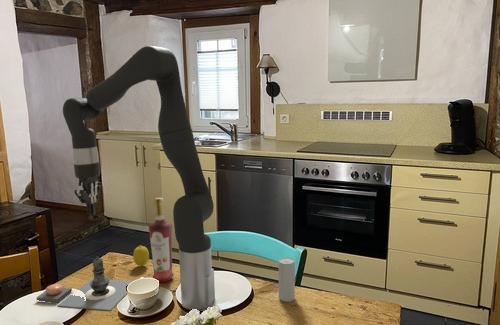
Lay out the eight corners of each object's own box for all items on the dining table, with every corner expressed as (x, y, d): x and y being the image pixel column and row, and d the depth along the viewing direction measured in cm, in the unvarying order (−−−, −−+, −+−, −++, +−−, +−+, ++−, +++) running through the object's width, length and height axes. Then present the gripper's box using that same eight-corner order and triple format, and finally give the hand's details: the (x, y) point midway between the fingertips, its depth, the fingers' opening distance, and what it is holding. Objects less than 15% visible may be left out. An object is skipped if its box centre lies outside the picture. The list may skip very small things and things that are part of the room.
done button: (65, 293, 124) (64, 284, 124) (56, 300, 120) (55, 291, 120) (53, 292, 125) (52, 283, 125) (43, 299, 121) (42, 290, 120)
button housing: (72, 292, 125) (71, 287, 125) (57, 303, 119) (57, 298, 118) (52, 290, 127) (51, 286, 126) (37, 301, 120) (36, 297, 120)
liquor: (177, 275, 136) (173, 195, 132) (170, 285, 129) (165, 201, 124) (157, 274, 137) (152, 195, 133) (148, 284, 130) (143, 201, 125)
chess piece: (104, 297, 121) (100, 260, 119) (86, 296, 122) (83, 259, 120) (114, 288, 126) (111, 252, 125) (97, 287, 128) (94, 252, 126)
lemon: (147, 269, 141) (146, 248, 140) (132, 269, 141) (130, 248, 140) (151, 263, 147) (150, 242, 145) (136, 263, 147) (135, 242, 145)
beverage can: (285, 293, 122) (285, 256, 120) (298, 298, 119) (298, 260, 117) (275, 298, 119) (275, 260, 117) (287, 304, 115) (287, 265, 114)
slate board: (138, 282, 131) (138, 281, 131) (110, 310, 114) (110, 309, 114) (91, 279, 134) (91, 278, 134) (57, 306, 117) (57, 305, 117)
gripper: (85, 164, 119) (91, 220, 121) (107, 158, 132) (112, 208, 134) (62, 165, 120) (69, 220, 123) (86, 158, 133) (92, 208, 135)
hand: (91, 214), depth 128 cm, fingers closed
